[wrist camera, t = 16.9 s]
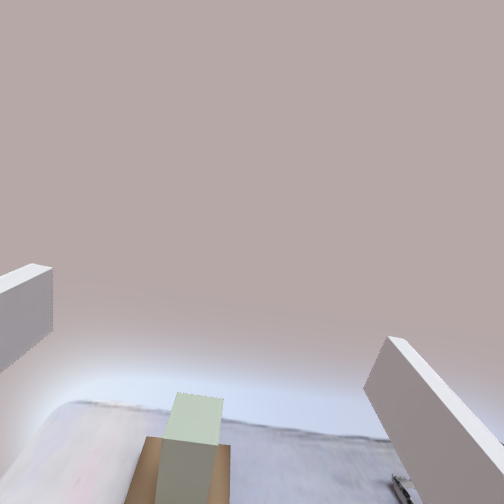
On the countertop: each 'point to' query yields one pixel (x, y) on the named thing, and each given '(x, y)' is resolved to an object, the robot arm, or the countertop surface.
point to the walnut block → (146, 472)
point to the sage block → (189, 450)
